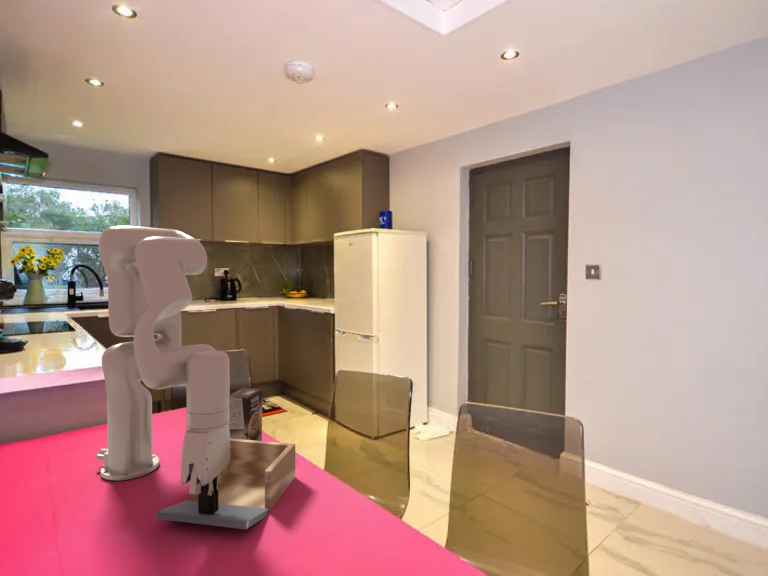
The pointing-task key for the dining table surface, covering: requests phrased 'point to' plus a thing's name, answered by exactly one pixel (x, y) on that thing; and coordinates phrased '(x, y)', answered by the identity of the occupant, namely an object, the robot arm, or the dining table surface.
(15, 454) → the dining table surface
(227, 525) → the panel
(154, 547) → the dining table surface
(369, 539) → the dining table surface
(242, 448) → the crate
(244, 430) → the coffee box
